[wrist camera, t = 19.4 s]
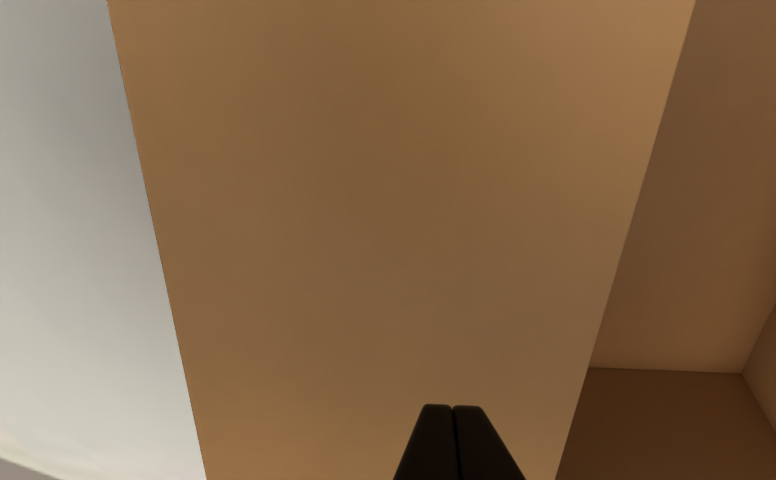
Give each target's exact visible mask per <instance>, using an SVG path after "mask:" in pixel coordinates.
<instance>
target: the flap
mask: <svg viewBox="0 0 776 480" xmlns="http://www.w3.org/2000/svg"><path fill="white" fill-rule="evenodd" d="M106 1H107V6H108V10H109V15H110V20H111V25H112V30H113V34H114V39H115V44H116V49H117V53H118V58H119V63H120V68H121V72H122V77H123V82H124V87H125V92H126V96H127V101H128V106H129V111H130V115H131V120H132V125H133V130H134V135H135V139H136V144H137V149H138V154H139V158H140V163H141V168H142V173H143V177H144V182H145V187H146V192H147V197H148V201H149V206H150V211H151V216H152V220H153V225H154V230H155V235H156V240H157V244H158V249H159V254H160V259H161V263H162V268H163V273H164V278H165V282H166V287H167V292H168V297H169V302H170V306H171V311H172V316H173V321H174V325H175V330H176V335H177V340H178V345H179V349H180V354H181V359H182V364H183V368H184V373H185V378H186V383H187V388H188V392H189V397H190V402H191V407H192V411H193V416H194V421H195V426H196V430H197V435H198V440H199V445H200V450H201V454H202V459H203V464H204V469H205V473H206V478H207V480H393V477H394V475H395V472H396V470H397V468H398V465H399V463H400V460H401V458H402V455H403V453H404V451H405V448H406V446H407V443H408V441H409V438H410V436H411V433H412V431H413V429H414V426H415V424H416V421H417V419H418V416H419V414H420V412H421V409H422V407H423V406H424V405H425V404H447V405H449V406H451V408H453V407H454V406H455V405H472V406H479V407H481V408H482V409H483V410H484V412H485V413H486V415H487V417H488V418H489V420H490V421H491V423H492V425H493V426H494V428H495V430H496V431H497V433H498V434H499V436H500V438H501V439H502V441H503V442H504V444H505V446H506V447H507V449H508V451H509V452H510V454H511V455H512V457H513V459H514V460H515V462H516V464H517V465H518V467H519V468H520V470H521V472H522V473H523V475H524V476H525V478H526V480H555V477H556V474H557V470H558V467H559V464H560V460H561V457H562V454H563V450H564V447H565V443H566V440H567V437H568V433H569V430H570V427H571V423H572V420H573V416H574V413H575V410H576V406H577V403H578V399H579V396H580V393H581V389H582V386H583V383H584V379H585V376H586V372H587V369H588V366H589V362H590V359H591V355H592V352H593V349H594V345H595V342H596V339H597V335H598V332H599V328H600V325H601V322H602V318H603V315H604V312H605V308H606V305H607V301H608V298H609V295H610V291H611V288H612V284H613V281H614V278H615V274H616V271H617V268H618V264H619V261H620V257H621V254H622V251H623V247H624V244H625V240H626V237H627V234H628V230H629V227H630V224H631V220H632V217H633V213H634V210H635V207H636V203H637V200H638V197H639V193H640V190H641V186H642V183H643V180H644V176H645V173H646V169H647V166H648V163H649V159H650V156H651V153H652V149H653V146H654V142H655V139H656V136H657V132H658V129H659V125H660V122H661V119H662V115H663V112H664V109H665V105H666V102H667V98H668V95H669V92H670V88H671V85H672V81H673V78H674V75H675V71H676V68H677V65H678V61H679V58H680V54H681V51H682V48H683V44H684V41H685V38H686V34H687V31H688V27H689V24H690V21H691V17H692V14H693V10H694V7H695V4H696V0H106Z"/></svg>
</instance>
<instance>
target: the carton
mask: <svg viewBox="0 0 776 480" xmlns="http://www.w3.org/2000/svg"><path fill="white" fill-rule="evenodd" d="M555 480H776V0H696V4H695V7H694V10H693V14H692V17H691V21H690V24H689V27H688V31H687V34H686V38H685V41H684V44H683V48H682V51H681V54H680V58H679V61H678V65H677V68H676V71H675V75H674V78H673V81H672V85H671V88H670V92H669V95H668V98H667V102H666V105H665V109H664V112H663V115H662V119H661V122H660V125H659V129H658V132H657V136H656V139H655V142H654V146H653V149H652V153H651V156H650V159H649V163H648V166H647V169H646V173H645V176H644V180H643V183H642V186H641V190H640V193H639V197H638V200H637V203H636V207H635V210H634V213H633V217H632V220H631V224H630V227H629V230H628V234H627V237H626V240H625V244H624V247H623V251H622V254H621V257H620V261H619V264H618V268H617V271H616V274H615V278H614V281H613V284H612V288H611V291H610V295H609V298H608V301H607V305H606V308H605V312H604V315H603V318H602V322H601V325H600V328H599V332H598V335H597V339H596V342H595V345H594V349H593V352H592V355H591V359H590V362H589V366H588V369H587V372H586V376H585V379H584V383H583V386H582V389H581V393H580V396H579V399H578V403H577V406H576V410H575V413H574V416H573V420H572V423H571V427H570V430H569V433H568V437H567V440H566V443H565V447H564V450H563V454H562V457H561V460H560V464H559V467H558V470H557V474H556V477H555Z"/></svg>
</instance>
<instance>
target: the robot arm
mask: <svg viewBox="0 0 776 480" xmlns="http://www.w3.org/2000/svg"><path fill="white" fill-rule="evenodd" d="M393 480H526V478H525V476H524V475H523V473H522V472H521V470H520V468H519V467H518V465H517V464H516V462H515V460H514V459H513V457H512V455H511V454H510V452H509V451H508V449H507V447H506V446H505V444H504V442H503V441H502V439H501V438H500V436H499V434H498V433H497V431H496V430H495V428H494V426H493V425H492V423H491V421H490V420H489V418H488V417H487V415H486V413H485V412H484V410H483V409H482V408H481V407H479V406H472V405H455V406H454V407H453V408H451V406H449V405H447V404H425V405H424V406H423V407H422V409H421V412H420V414H419V416H418V419H417V421H416V424H415V426H414V429H413V431H412V433H411V436H410V438H409V441H408V443H407V446H406V448H405V451H404V453H403V455H402V458H401V460H400V463H399V465H398V468H397V470H396V472H395V475H394V477H393Z"/></svg>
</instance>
